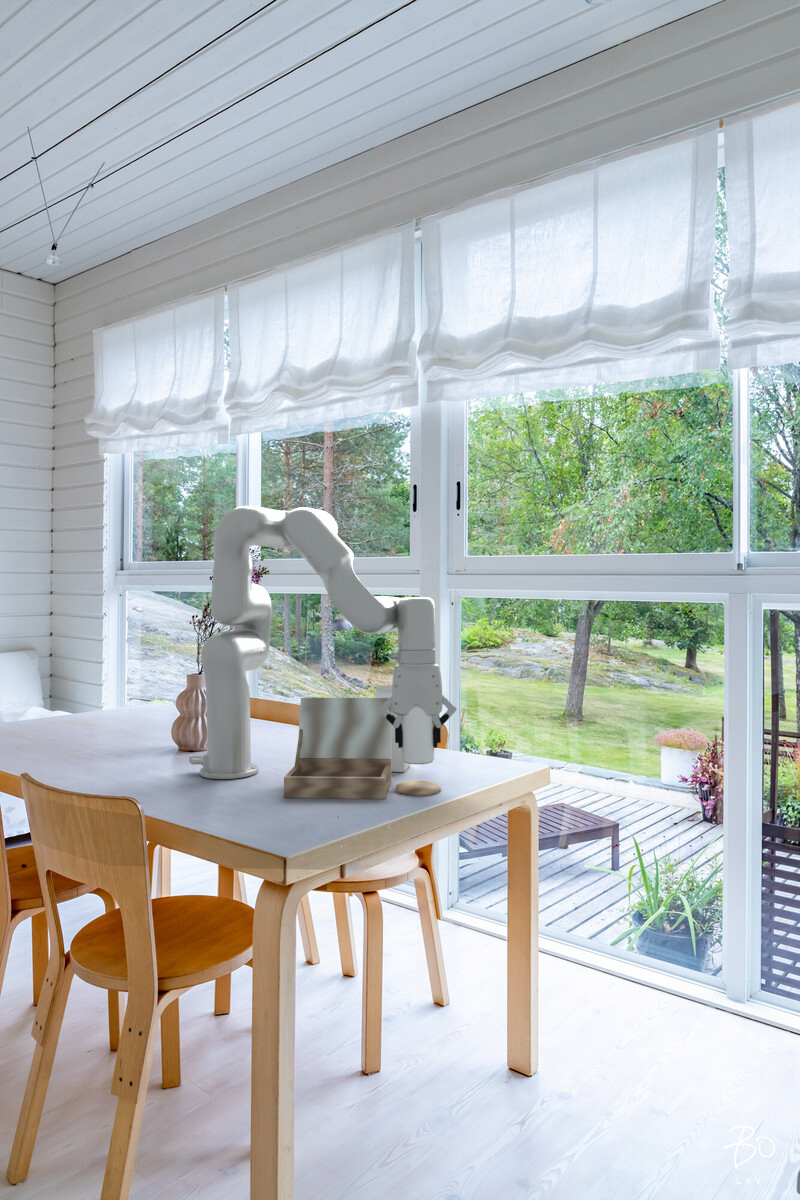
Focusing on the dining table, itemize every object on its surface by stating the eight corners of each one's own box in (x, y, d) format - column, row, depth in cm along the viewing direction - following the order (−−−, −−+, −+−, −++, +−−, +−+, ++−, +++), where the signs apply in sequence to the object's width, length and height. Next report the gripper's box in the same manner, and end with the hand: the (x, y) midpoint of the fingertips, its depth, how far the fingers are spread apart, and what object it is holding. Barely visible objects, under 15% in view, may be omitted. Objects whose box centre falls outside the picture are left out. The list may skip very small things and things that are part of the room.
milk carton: (404, 772, 177) (403, 687, 177) (373, 771, 178) (372, 686, 178) (410, 765, 184) (409, 683, 184) (380, 764, 185) (379, 683, 185)
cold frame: (284, 797, 157) (282, 709, 156) (302, 776, 174) (301, 697, 174) (385, 798, 155) (384, 709, 155) (393, 777, 173) (392, 697, 172)
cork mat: (394, 795, 157) (394, 791, 157) (397, 784, 166) (397, 780, 166) (439, 796, 157) (439, 792, 157) (441, 784, 166) (441, 781, 166)
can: (434, 764, 158) (434, 704, 158) (402, 765, 158) (401, 704, 158) (434, 757, 165) (433, 699, 164) (402, 758, 165) (401, 700, 164)
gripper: (372, 660, 158) (373, 750, 158) (459, 659, 157) (460, 750, 157) (376, 656, 166) (377, 743, 166) (459, 656, 164) (461, 743, 164)
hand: (418, 745), depth 161 cm, fingers closed on can, 6 cm apart
